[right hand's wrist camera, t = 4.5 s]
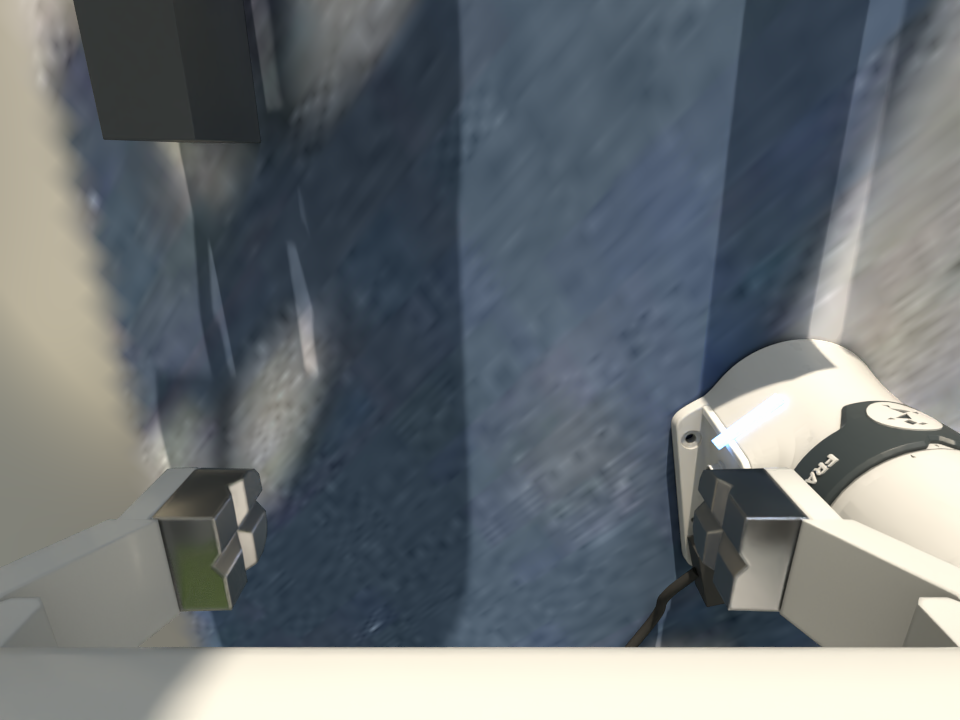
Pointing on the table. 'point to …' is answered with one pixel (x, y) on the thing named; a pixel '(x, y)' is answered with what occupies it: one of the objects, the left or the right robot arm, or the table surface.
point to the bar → (170, 70)
